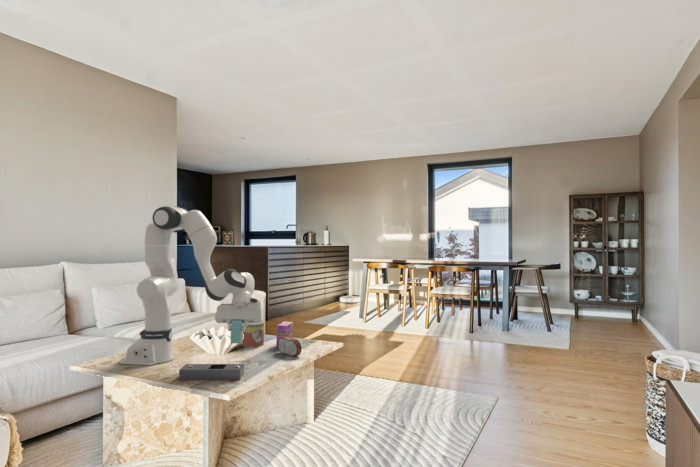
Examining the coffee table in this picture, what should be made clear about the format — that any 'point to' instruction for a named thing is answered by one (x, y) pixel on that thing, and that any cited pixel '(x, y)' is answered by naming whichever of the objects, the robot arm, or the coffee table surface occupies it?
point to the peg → (236, 331)
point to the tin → (289, 346)
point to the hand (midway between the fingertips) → (236, 330)
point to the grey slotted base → (211, 372)
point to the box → (284, 331)
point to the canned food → (254, 335)
